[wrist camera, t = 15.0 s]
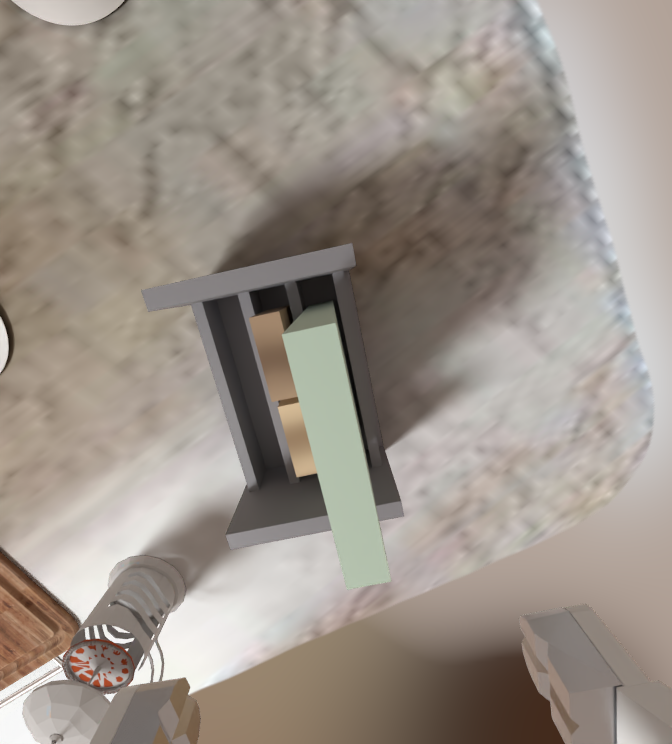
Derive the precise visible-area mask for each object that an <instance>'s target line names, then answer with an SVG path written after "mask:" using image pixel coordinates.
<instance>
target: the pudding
mask: <svg viewBox="0 0 672 744" xmlns="http://www.w3.org/2000/svg"><path fill="white" fill-rule="evenodd" d="M8 350H9V345H8V336H7V332H6V328H5V326H4V323H3V321H2V319H1V317H0V373H1V371H2V369H3V368H4V366H5V364H6V361H7V357H8Z"/></svg>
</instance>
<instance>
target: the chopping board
mask: <svg viewBox="0 0 672 744" xmlns="http://www.w3.org/2000/svg"><path fill="white" fill-rule="evenodd" d="M78 630H79V626H78V623H77V622H76V620H75V619H74V618H73V617H72V616H71V615H70V614H69V613H68V612H67V611H66V610H65V609H64V608H62V607H61V606H60V605H59V604H58V603H57V602H56V601H55V600H54V599H52V598H51V597H50V596H49V595H48V594H47V593H46V592H45V591H43V590H42V589H41V588H40V587H39V586H38V585H37V584H36V583H35V582H33V581H32V580H31V579H30V578H29V577H28V576H27V575H26V574H25V573H23V572H22V571H21V570H20V569H19V568H18V567H17V566H16V565H14V564H13V563H12V562H11V561H10V560H9V559H8V558H7V557H6V556H4V555H3V554H2V553H1V552H0V691H1V690H3V689H5V688H6V687H8V686H9V685H11V684H13V683H14V682H16V681H18V680H19V679H21V678H22V677H24V676H26V675H27V674H29V673H31V672H32V671H34V670H36V669H37V668H39V667H40V666H42V665H44V664H45V663H47V662H49V661H50V660H53V661H54V662H55V663H57V664H58V665H59V666H58V667H56V668H55V669H53V670H51V671H50V672H48V673H47V674H45V675H43V676H42V677H40V678H38V679H37V680H35V681H33V682H32V683H30V684H28V685H27V686H25V687H23V688H22V689H20V690H19V691H17V692H15V693H14V694H12V695H10V696H9V697H7V698H5V699H4V700H2V701H0V708H2V707H4V706H5V705H7V704H9V703H10V702H12V701H13V700H15V699H17V698H18V697H20V696H22V695H23V694H25V693H27V692H28V691H30V690H32V689H33V688H35V687H37V686H38V685H40V684H42V683H43V682H45V681H47V680H48V679H50V678H52V677H53V676H55V675H56V674H58V673H60V672H61V671H63V669H62V663H63V661H61V660H60V659H59V658H58V657H57V656H58V655H60V654H62V653H63V652H65V651H66V650H68V649H69V648H70V645H71V642H72V639H73V637H74V636H75V634H76V633H77V632H78Z"/></svg>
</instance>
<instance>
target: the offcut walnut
mask: <svg viewBox="0 0 672 744" xmlns="http://www.w3.org/2000/svg"><path fill="white" fill-rule="evenodd" d="M249 321H250V324H251V328H252V331H253V335H254V339H255V342H256V346H257V350H258V353H259V357H260V361H261V364H262V368H263V372H264V375H265V379H266V382H267V386H268V390H269V393H270V397H271V401H272V402H275V401H279V400H284V399H289V398H294V397H298V396H297V392H296V388H295V384H294V381H293V377H292V373H291V369H290V365H289V361H288V357H287V353H286V349H285V345H284V341H283V338H282V334H283V333H284V332H285V331H286V329H287V328H288V327H289V326H290V325H291V324H292V323H293V322H294V321H293V317H292V313H291V309H290V305H288V306H283V307H278V308H274V309H269V310H266V311H264V312H261V313H259V314H257V315H254V316H252V317H250V318H249Z"/></svg>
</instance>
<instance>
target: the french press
mask: <svg viewBox="0 0 672 744" xmlns="http://www.w3.org/2000/svg"><path fill="white" fill-rule="evenodd" d="M108 587H109V589H108V590H107V591H106V593H105V594H104V596H103V597H102V598H101V600H100V601H99V602H98V604H97V605H96V607H95V608H94V609H93V611H92V612H91V614H90V615H89V616H88V618H87V619H86V620H85V622H84V623H83V625H82V626H81V627H80V629H79V630H78V632H77V633H76V634H75V636H74V637H73V639H72V642H71V645H70V648H69V649H68V651H67V652H66V653H65V654H64V656H63V663H62V669H63V671H64V672H65V676H66V677H67V678H68V679H69V680H60V681H51V682H49V683H47V684H45V685H42V686H40V687H38V688H36V689H35V690H34V691H33V692H32V693H31V694H30V695H29V696H28V697H27V698H26V700H25V701H24V703H23V712H22V715H23V718H24V720H25V723H26V726H27V727H28V729H29V731H30V732H31V734H32V736H33V737H34V739H35V741H37V742H39V743H40V744H90V742H91V740H92V738H93V736H94V734H95V732H96V730H97V728H98V726H99V724H100V723H101V721H102V719H103V717H104V715H105V713H106V711H107V709H108V707H109V705H110V701H109V700H108V699H107V698H106V697H105V696H104V695H105V694H111V693H113V694H114V693H116V692H118V691H119V690H120V689H121V688H123V687H127V686H128V685H129V684H130V683H131V681H132V680H133V677H134V672H135V669H136V667H137V665H138V663H139V661H140V659H141V657H142V655H143V653H144V655H145V657H144V659H143V661H142V663H141V665H140V667H139V669H140V668H141V667H142V666H143V664H144V662H145V660H146V658H147V656H148V657H149V660H150V664H151V669H152V673H151V681H150V683H152V682H153V675H154V665H153V659H152V657H151V655H150V650H151V648H152V646H153V644H154V642H155V643H156V645H157V648H158V650H159V653H160V656H161V661H162V669H161V676H160V679H159V681H162V677H163V671H164V659H163V653H162V650H161V648H160V646H159V643H158V640H157V638H158V636H159V634H160V632H161V629H162V627H163V625H164V623H165V621H166V619H167V617H168V615H169V614H170V613H172V612H174V611H176V609H177V608H178V607H179V606H180V605H181V603H182V602H183V601H184V596H185V592H186V588H185V584H184V581H183V577H182V576H181V575H180V574H179V572H178V571H177V570H176V569H175V567H174V566H172V565H170V564H169V563H167V562H165V561H164V560H162V559H159V558H155V557H150V556H146V555H144V556H134V557H129V558H127V559H125V560H123V561H121V562H119V563H117V565H116V566H115V567H114V568H113V570H112V571H111V572H110V575H109V581H108ZM109 604H110V606H109V607H108V605H109ZM163 616H164V618H163ZM159 623H160V626H159V628H157V626H158V624H159ZM102 624H106V626H107V630H108V632H109V633H110V634H111V635H112V636H113V637H115V638H121V639H129V638H134V637H135V639H134V640H133V642H129V643H125V644H119V643H113V642H112V641H110V640H109V639H107V638H106V637H105V635H104V632H103V628H102ZM94 625H97V628H98V632H99V636H100V639H95V634H94V628H93V626H94ZM112 626H116V627H120V628H122V629H124V630H126V631H128V632H130V633H121V632H118V631H117V630H116V629H114V628H113V627H112ZM86 627H89V635H90V640H86V638H85V630H84V628H86ZM153 634H154V635H155V636H154V638H153V640H151V638H152V636H153ZM127 648H129V649H128V651H126V650H125V649H127Z"/></svg>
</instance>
